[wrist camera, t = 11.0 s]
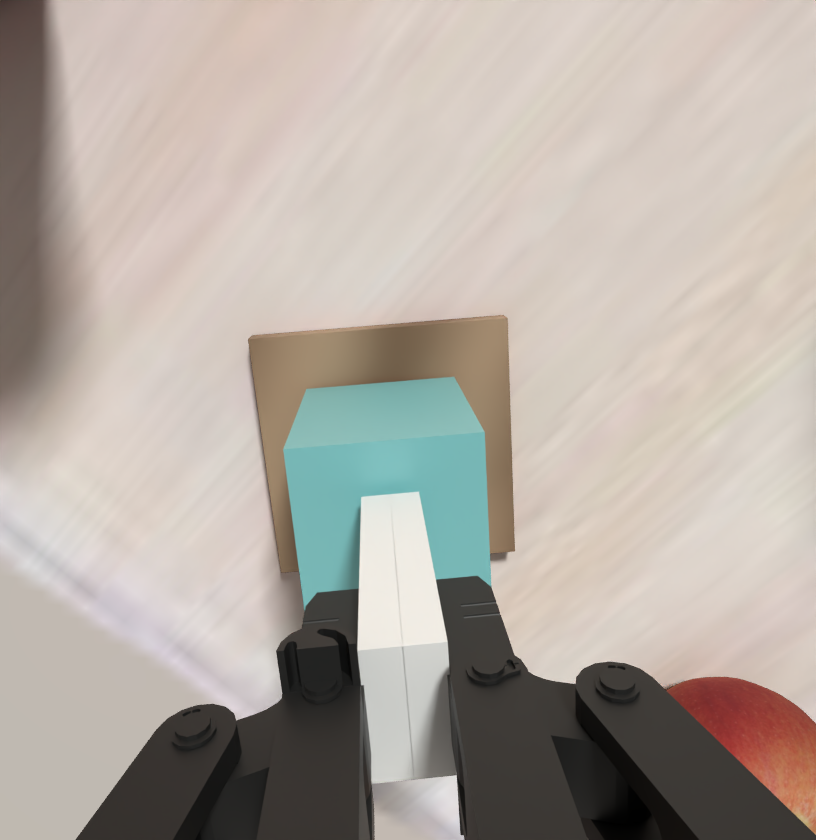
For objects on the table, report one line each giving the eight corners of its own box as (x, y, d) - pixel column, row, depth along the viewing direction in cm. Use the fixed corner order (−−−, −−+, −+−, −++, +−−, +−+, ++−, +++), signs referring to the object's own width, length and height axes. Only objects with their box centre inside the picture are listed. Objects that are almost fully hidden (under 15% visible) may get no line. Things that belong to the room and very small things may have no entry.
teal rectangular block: (454, 376, 24) (484, 432, 17) (461, 512, 25) (492, 608, 19) (306, 389, 24) (282, 449, 17) (322, 524, 25) (306, 626, 19)
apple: (584, 793, 31) (656, 984, 23) (609, 640, 28) (698, 795, 21) (754, 794, 31) (880, 980, 23) (792, 644, 29) (944, 796, 21)
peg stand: (503, 315, 24) (554, 349, 18) (510, 541, 27) (557, 648, 20) (252, 335, 24) (206, 378, 17) (283, 562, 27) (254, 677, 20)
